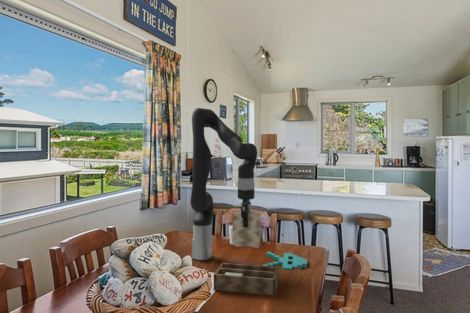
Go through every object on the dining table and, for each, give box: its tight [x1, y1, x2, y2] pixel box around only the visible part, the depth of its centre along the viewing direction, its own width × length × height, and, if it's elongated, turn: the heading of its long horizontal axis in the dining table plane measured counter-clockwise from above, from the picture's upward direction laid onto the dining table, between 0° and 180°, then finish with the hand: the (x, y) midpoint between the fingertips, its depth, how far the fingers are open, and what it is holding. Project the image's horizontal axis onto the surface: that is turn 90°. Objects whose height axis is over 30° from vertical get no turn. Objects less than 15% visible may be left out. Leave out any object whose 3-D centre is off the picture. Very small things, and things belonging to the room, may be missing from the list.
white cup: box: [228, 224, 233, 246], centre depth 191 cm, size 8×8×10 cm
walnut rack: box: [213, 262, 279, 296], centre depth 133 cm, size 24×13×7 cm, turn 78°
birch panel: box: [232, 211, 261, 249], centre depth 148 cm, size 12×3×15 cm, turn 78°
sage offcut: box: [224, 272, 243, 276], centre depth 131 cm, size 7×4×5 cm, turn 78°
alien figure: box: [262, 251, 308, 271], centre depth 159 cm, size 20×2×20 cm
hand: (246, 225), depth 148 cm, fingers closed on birch panel, 3 cm apart
